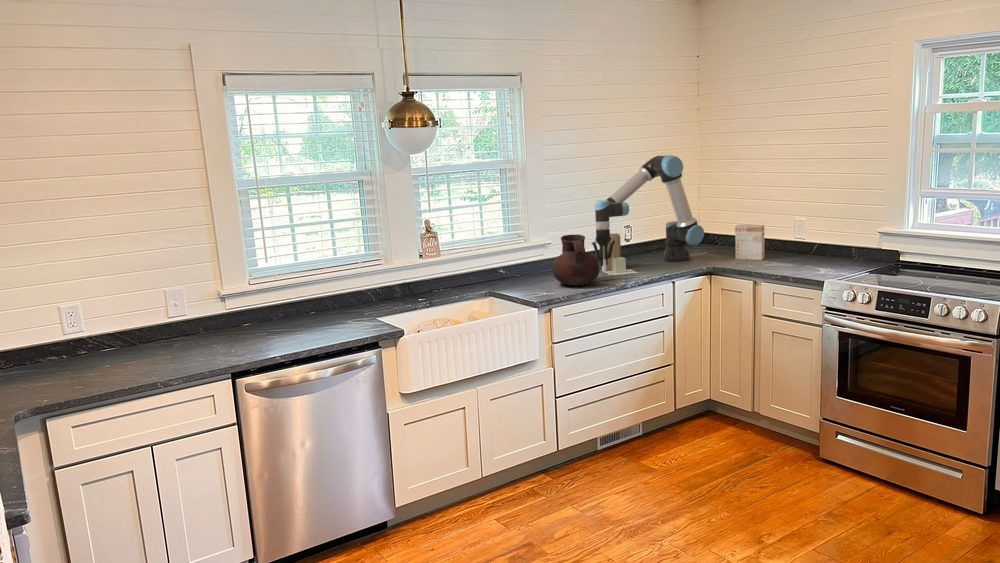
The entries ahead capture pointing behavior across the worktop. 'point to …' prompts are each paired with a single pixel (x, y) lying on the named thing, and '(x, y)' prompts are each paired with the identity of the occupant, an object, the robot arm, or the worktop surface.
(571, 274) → the jug
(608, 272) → the letter
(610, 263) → the wooden block
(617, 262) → the sage block
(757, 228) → the coffeecake box
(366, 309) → the worktop surface
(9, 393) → the worktop surface
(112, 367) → the worktop surface
